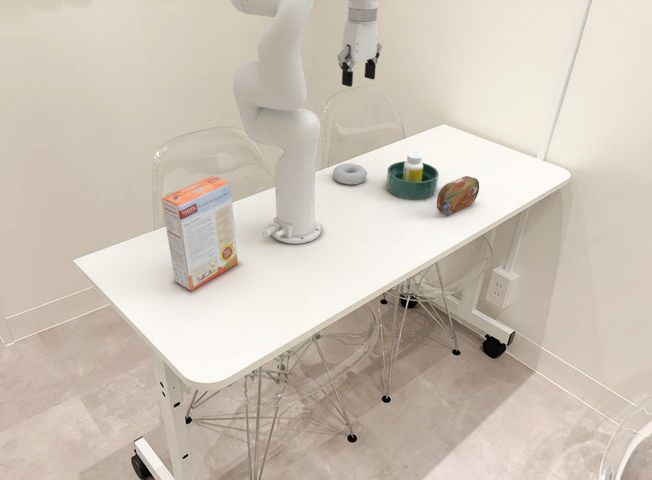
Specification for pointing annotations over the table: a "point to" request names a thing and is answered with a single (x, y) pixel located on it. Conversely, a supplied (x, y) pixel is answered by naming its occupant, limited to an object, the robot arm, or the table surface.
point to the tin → (457, 195)
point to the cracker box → (200, 231)
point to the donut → (349, 173)
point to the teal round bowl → (412, 188)
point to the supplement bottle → (413, 168)
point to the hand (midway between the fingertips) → (358, 81)
